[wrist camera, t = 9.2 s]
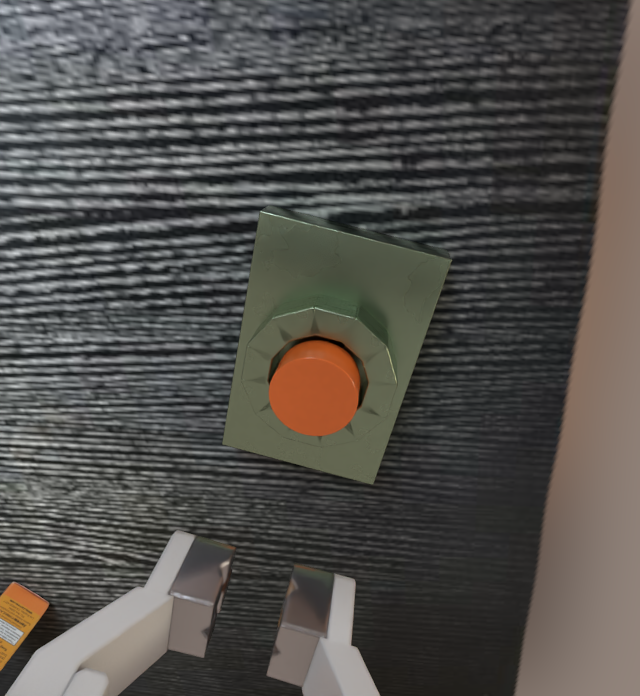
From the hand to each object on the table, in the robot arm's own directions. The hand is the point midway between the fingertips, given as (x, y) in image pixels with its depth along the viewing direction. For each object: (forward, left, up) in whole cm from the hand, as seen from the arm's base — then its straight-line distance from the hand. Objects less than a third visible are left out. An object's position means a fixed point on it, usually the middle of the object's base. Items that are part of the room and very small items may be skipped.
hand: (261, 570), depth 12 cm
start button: (0, 0, -10) cm, 10 cm away
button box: (0, 0, -13) cm, 13 cm away
